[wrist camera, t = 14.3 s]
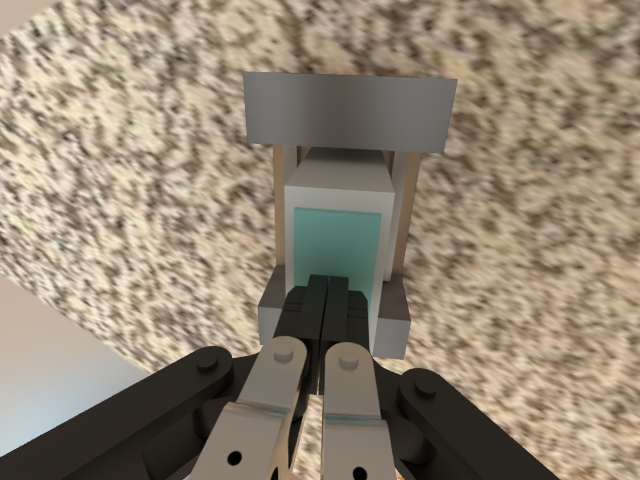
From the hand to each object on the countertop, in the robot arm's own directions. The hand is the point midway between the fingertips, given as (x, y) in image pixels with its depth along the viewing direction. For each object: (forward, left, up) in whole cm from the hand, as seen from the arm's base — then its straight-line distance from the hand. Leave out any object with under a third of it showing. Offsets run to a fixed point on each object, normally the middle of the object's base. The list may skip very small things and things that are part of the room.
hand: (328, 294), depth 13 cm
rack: (0, 0, -11) cm, 11 cm away
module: (0, 0, -10) cm, 10 cm away
